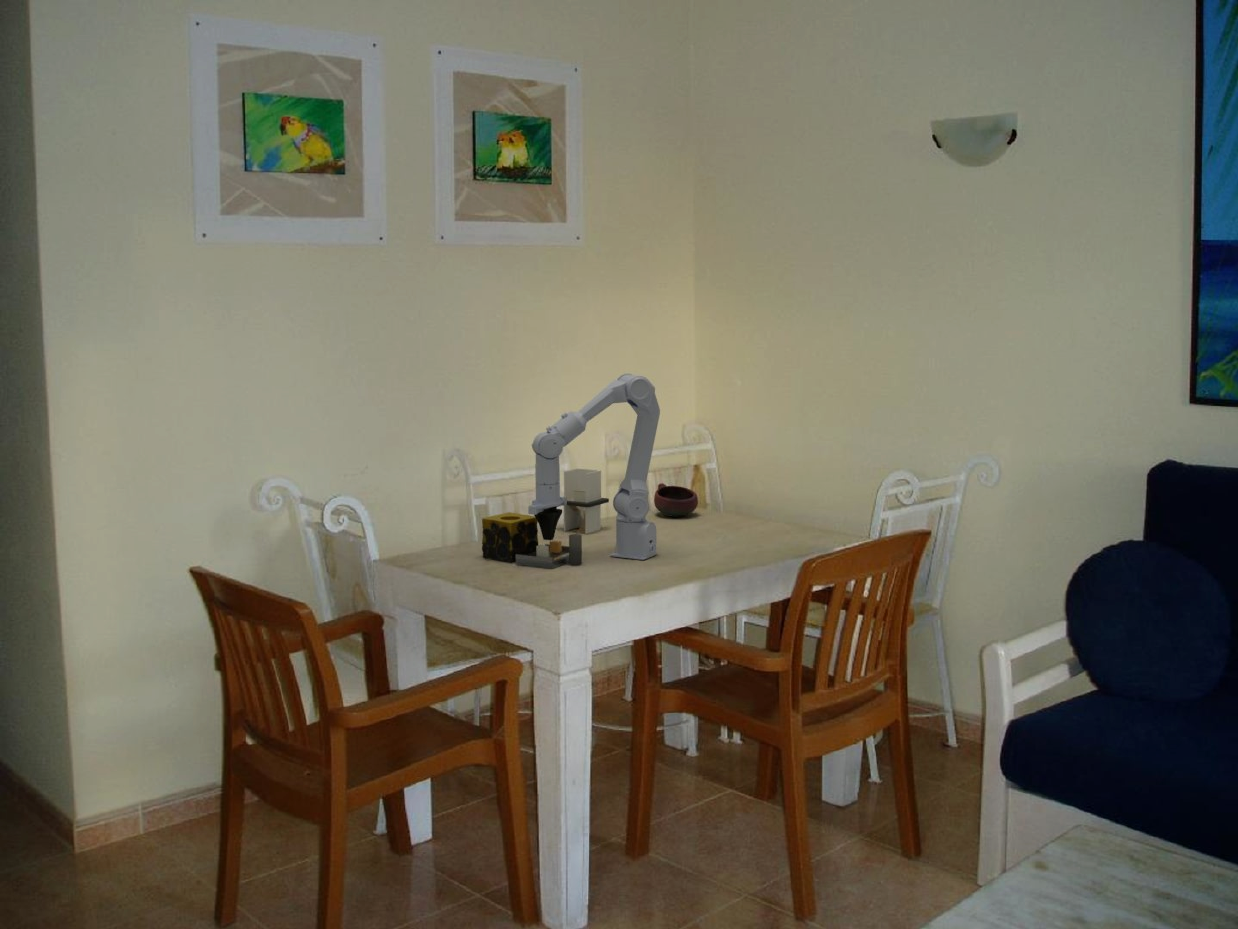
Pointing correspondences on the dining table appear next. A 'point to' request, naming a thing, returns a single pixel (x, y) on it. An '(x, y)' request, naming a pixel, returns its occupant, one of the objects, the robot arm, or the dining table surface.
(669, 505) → the bowl
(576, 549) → the post
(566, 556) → the grey tray
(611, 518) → the dining table surface
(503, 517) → the candle
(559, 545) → the tan rectangular prism
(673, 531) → the dining table surface
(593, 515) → the model fireplace
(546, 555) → the upright cream block
